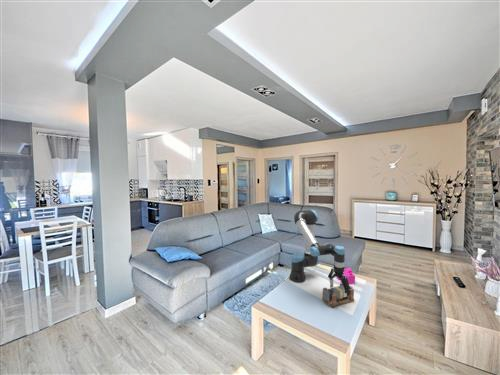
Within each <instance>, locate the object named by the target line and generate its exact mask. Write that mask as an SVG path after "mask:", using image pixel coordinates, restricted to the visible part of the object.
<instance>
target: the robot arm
mask: <svg viewBox="0 0 500 375" xmlns="http://www.w3.org/2000/svg"><path fill="white" fill-rule="evenodd" d="M318 221H319V214H318V212H317V211H316V210H315V209H305V210H298V211H297V212H296V213H295V214H294V216H293V222H294V224H295V226H296V227H298V228H299V231H300V232H301V235H303V237H304V239H305V240H304V242H305V250H304V251H303V252H296V253H293V254H292V255H291V264H290V266H291V268H290V269H291V270H290V273H289V276H288V277H289V280H290V281H291V282H295V283H301V284H302V283H304V282H306V279H307V278H306V273H305V268H311V267H315V266H318V265H319V263H320V256H326V255H331V256H333V268H331V269H330V272H329V273H328V276H327V278H329V289H330V288H334V278H335V277H336V278H337V277H338V278H339V279H340V280H339V281H341V282H342V284H343V286H344V292H343V297H347V293H348V290H349V289H350V286H351V285H350V284H349V283H348V280H347V275H344V274H343V273H344V270H345V260H346V257H345V256H346V248H345V247H344V246H343V245H333V244H331V243H329V242H326V243H325V244H323V245H320V243H319V242H318V241H317V238H316V237H315V226H316V224H317V222H318ZM341 278H342V279H341Z"/></svg>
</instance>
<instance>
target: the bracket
mask: <svg viewBox="0 0 500 375" xmlns="http://www.w3.org/2000/svg"><path fill="white" fill-rule="evenodd" d="M343 274H344V275H347V280H348V283H349V285H354V284H356V274H354V273H353V270H352V268H350V267H346V268H344V273H343ZM336 279H337V280H338V281H339V284H340V283H342V282H341V280H340V279H339V278H338V277H336ZM341 279H342V278H341Z"/></svg>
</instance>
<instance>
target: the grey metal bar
mask: <svg viewBox="0 0 500 375" xmlns="http://www.w3.org/2000/svg"><path fill="white" fill-rule="evenodd" d="M349 286H350V289H354V288H353V287H352V286H351V285H349ZM350 289H349V290H348V293H347V296H349V293H350ZM343 292H344V286H343V285H341V286H340V285H338V286H333V287H332V288H330V287H329V288H327V290H324V299H326V300H327V301H328V302H331V301H332V295H333V294H336V295H337V297H336V300H338V299H342V298H344V297H343Z"/></svg>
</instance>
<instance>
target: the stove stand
mask: <svg viewBox="0 0 500 375" xmlns="http://www.w3.org/2000/svg"><path fill="white" fill-rule="evenodd" d="M341 285H343V284H342V283H340V282H339V286H341ZM327 289H328V288H327V287H322V299H321V300H322V301H323V302H324V303H325V304H327V306H329V307H331V308H332V309H335V308H339V307H340V306H343V305H346V304H349V303H353V302H355V298H354V296H355V289H354V288H353V289H350V293H349V296H347V297H344V298H342V299H338V300H336V297H337V295H336V294H333V295H332V301H331V302H328V301H327V300H326V299H324V290H327Z"/></svg>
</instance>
